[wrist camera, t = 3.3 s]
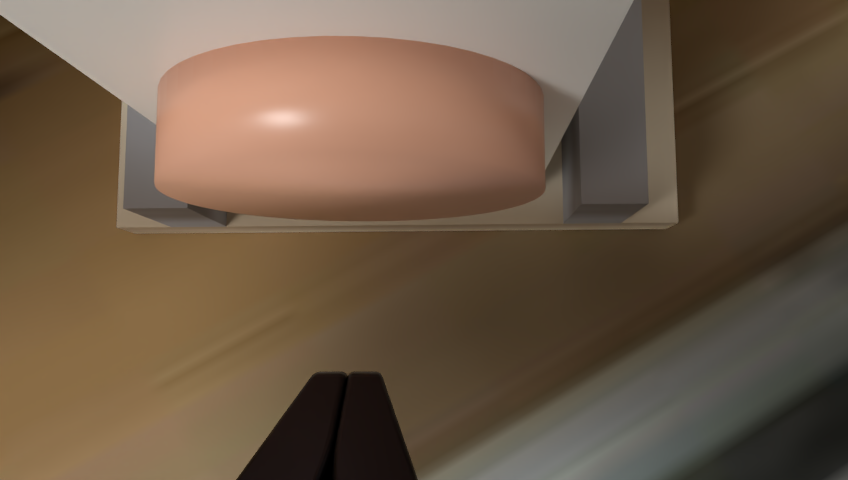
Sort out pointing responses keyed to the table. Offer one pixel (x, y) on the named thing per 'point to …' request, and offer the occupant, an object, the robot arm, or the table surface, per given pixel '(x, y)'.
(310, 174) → the push knob
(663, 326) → the table surface
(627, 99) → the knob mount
